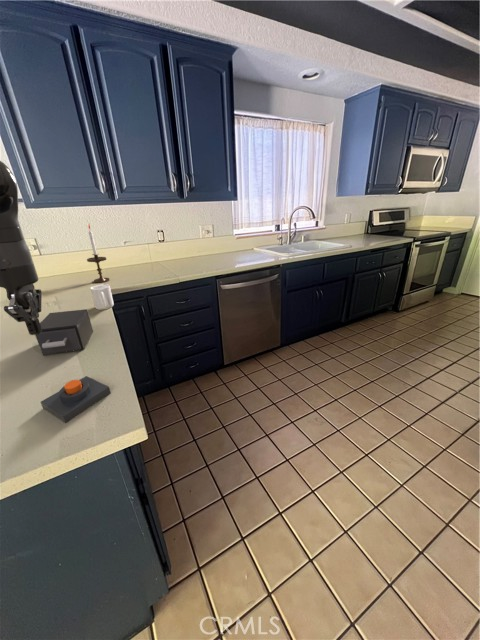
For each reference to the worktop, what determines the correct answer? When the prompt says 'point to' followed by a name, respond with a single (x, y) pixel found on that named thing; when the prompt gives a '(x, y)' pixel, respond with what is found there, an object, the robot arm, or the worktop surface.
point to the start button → (73, 386)
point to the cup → (102, 296)
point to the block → (75, 399)
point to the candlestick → (96, 260)
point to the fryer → (70, 324)
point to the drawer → (58, 340)
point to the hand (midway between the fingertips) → (36, 333)
